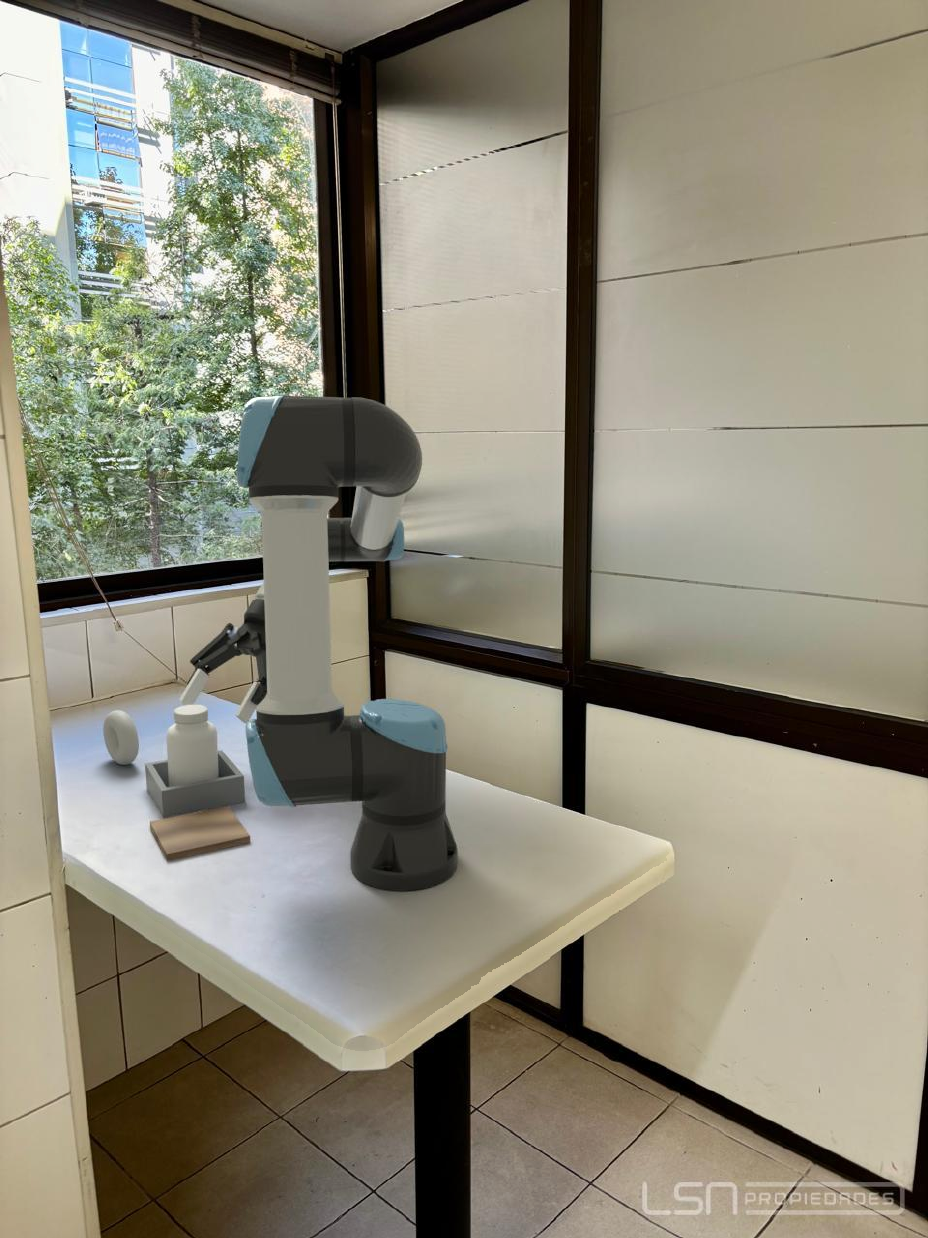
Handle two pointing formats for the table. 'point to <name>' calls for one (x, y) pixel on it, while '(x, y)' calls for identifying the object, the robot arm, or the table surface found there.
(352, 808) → the table surface
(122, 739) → the donut
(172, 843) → the pad
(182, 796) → the sleeve
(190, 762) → the pill bottle
